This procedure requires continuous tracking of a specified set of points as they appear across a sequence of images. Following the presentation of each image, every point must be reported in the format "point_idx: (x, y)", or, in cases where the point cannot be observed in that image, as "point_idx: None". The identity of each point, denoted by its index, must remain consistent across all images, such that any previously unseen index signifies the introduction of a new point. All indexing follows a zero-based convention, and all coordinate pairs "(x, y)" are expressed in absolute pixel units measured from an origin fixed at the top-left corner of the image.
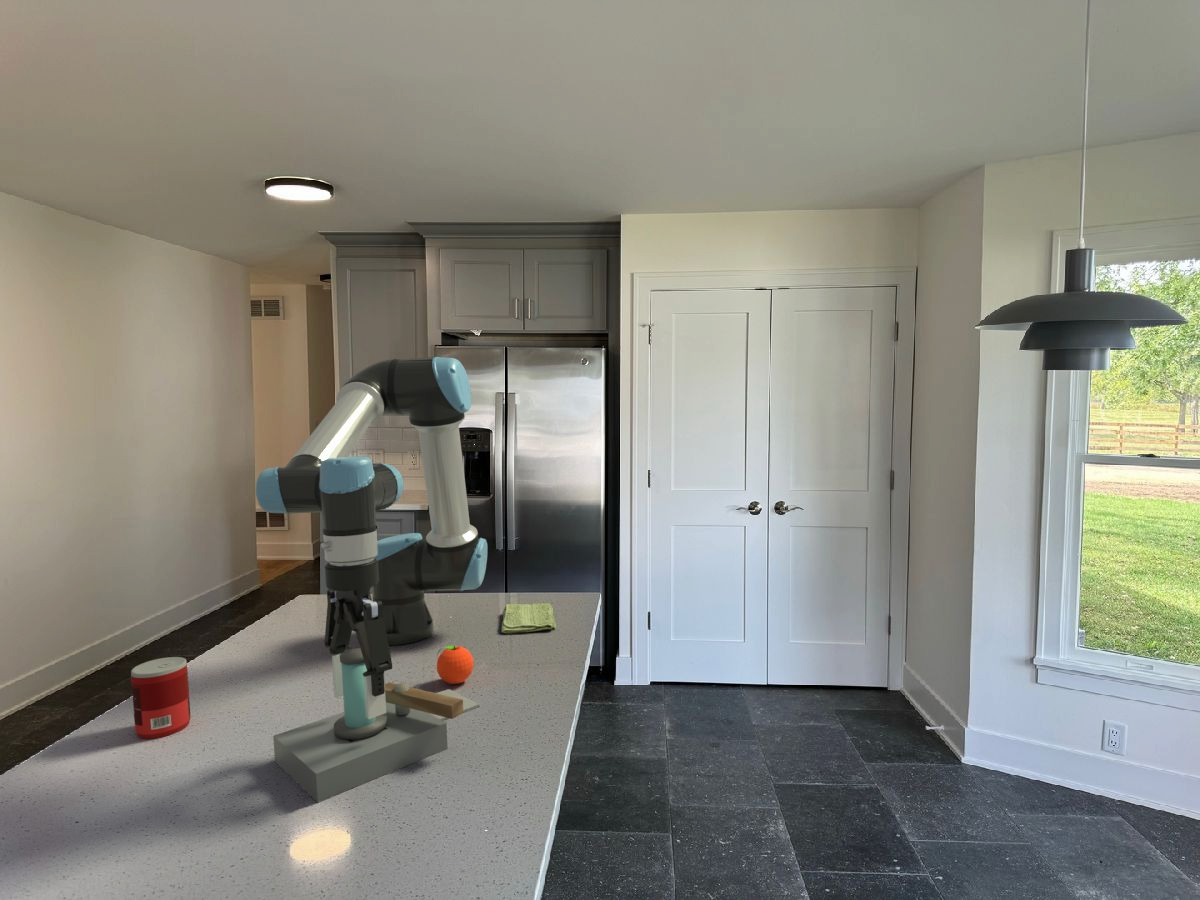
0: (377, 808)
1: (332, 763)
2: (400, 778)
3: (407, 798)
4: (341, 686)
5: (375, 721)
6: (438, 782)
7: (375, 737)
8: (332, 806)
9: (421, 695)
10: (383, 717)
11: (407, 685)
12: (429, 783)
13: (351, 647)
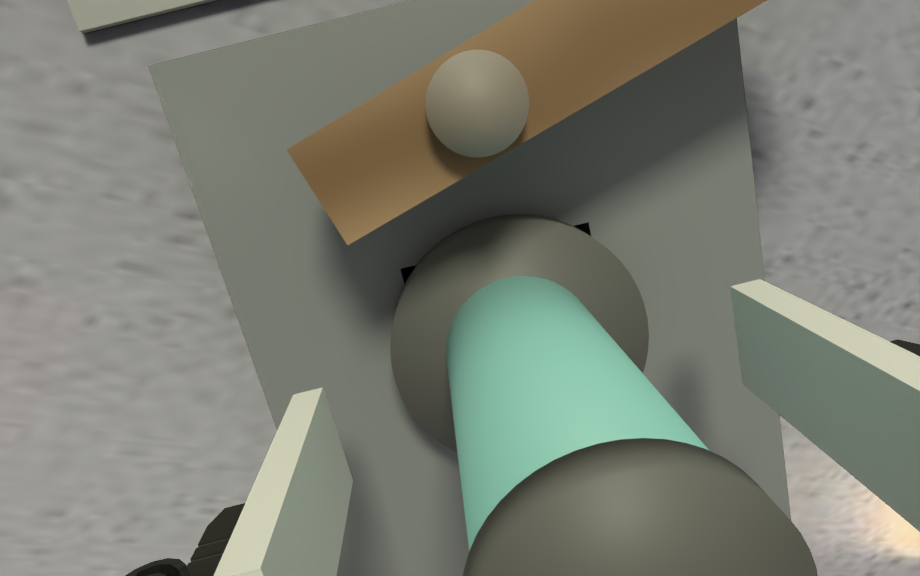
0: (900, 324)
1: (754, 480)
2: (772, 211)
3: (916, 224)
4: (336, 482)
5: (576, 285)
6: (899, 91)
7: (644, 292)
8: (788, 440)
9: (664, 10)
10: (553, 238)
11: (496, 62)
12: (881, 125)
13: (182, 572)
